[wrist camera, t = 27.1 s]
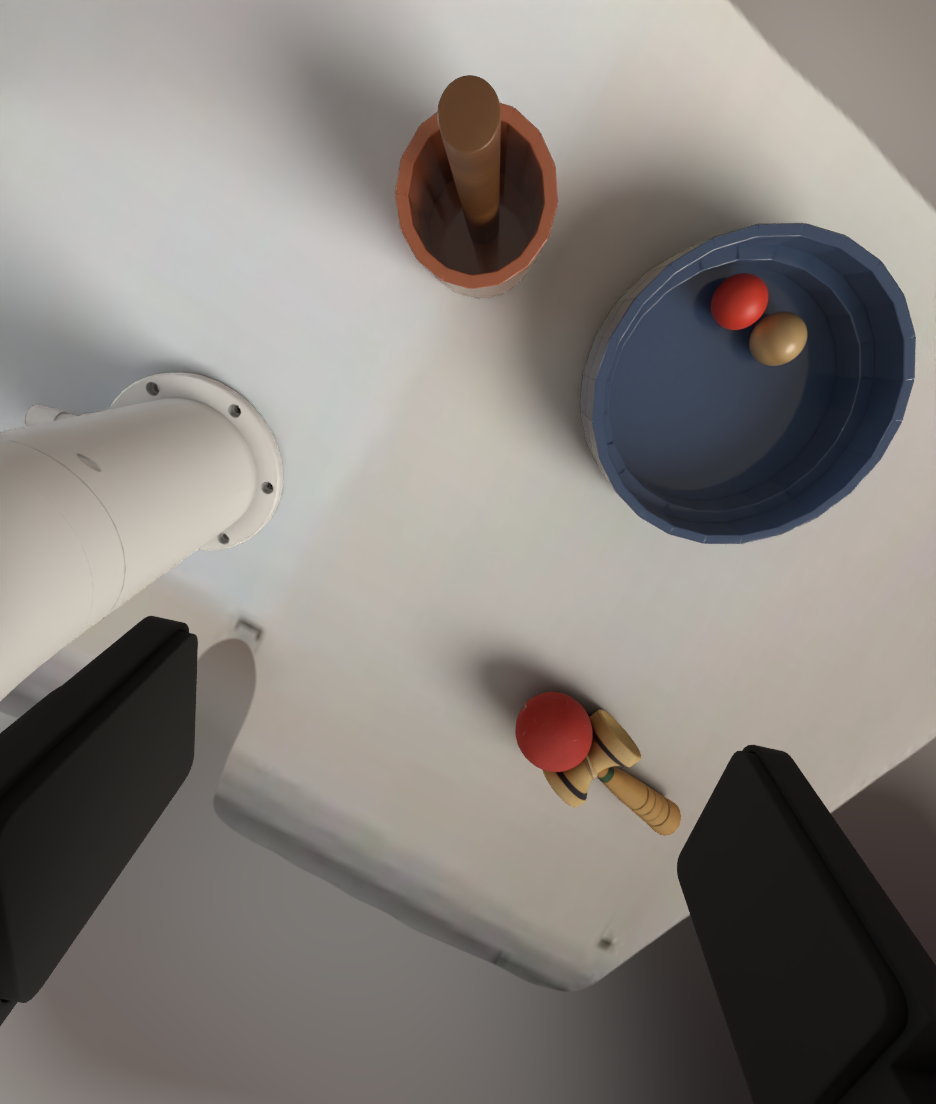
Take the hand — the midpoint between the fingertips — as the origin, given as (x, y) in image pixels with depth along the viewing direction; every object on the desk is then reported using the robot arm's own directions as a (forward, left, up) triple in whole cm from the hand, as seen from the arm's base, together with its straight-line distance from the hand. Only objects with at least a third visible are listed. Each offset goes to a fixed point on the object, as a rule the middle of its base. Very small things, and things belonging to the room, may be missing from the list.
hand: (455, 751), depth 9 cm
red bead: (+12, +12, -28) cm, 33 cm away
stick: (-3, +12, -30) cm, 32 cm away
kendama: (+17, -23, -30) cm, 42 cm away
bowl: (+14, +7, -30) cm, 34 cm away
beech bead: (+15, +10, -28) cm, 33 cm away
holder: (-4, +12, -30) cm, 32 cm away
